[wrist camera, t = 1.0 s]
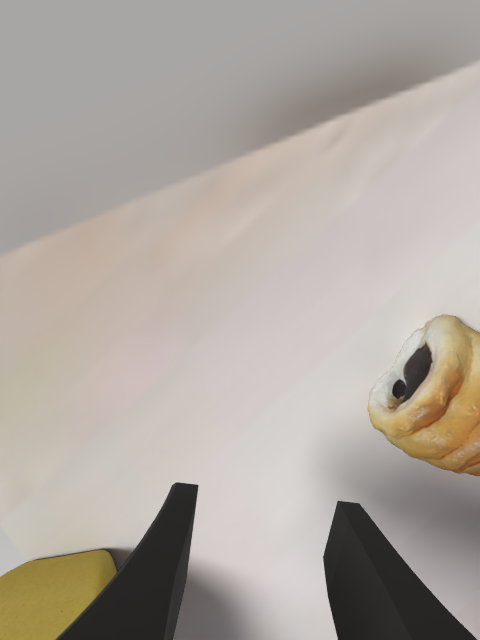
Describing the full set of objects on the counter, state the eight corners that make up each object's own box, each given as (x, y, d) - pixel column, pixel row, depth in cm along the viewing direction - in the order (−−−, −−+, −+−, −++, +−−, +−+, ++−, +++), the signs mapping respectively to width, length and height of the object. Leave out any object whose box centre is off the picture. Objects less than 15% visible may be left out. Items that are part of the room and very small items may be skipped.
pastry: (578, 387, 21) (647, 430, 18) (490, 484, 23) (536, 541, 20) (427, 299, 20) (468, 326, 16) (346, 410, 22) (367, 457, 18)
